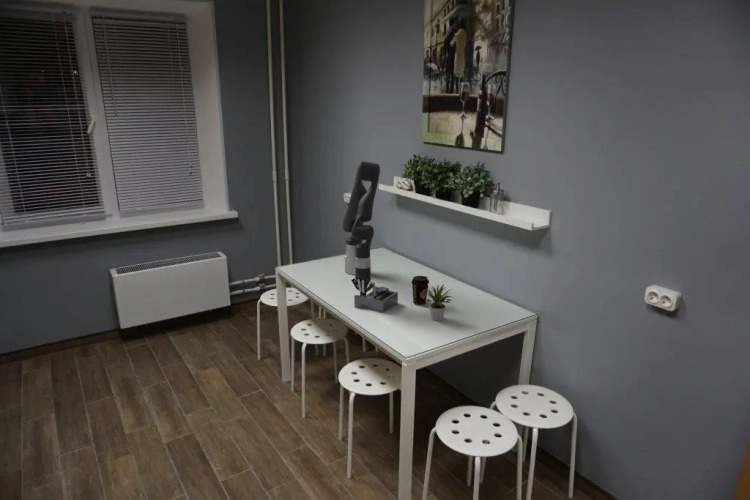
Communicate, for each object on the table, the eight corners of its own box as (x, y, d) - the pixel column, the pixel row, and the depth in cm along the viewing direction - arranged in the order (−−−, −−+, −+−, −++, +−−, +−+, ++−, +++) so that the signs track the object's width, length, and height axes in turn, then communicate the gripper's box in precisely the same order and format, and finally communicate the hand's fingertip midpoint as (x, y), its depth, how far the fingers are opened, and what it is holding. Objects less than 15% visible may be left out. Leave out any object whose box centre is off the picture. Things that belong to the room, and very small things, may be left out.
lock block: (362, 305, 241) (362, 297, 240) (372, 299, 248) (372, 291, 247) (376, 308, 237) (376, 300, 236) (386, 302, 244) (386, 294, 243)
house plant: (429, 328, 215) (430, 293, 211) (414, 316, 228) (415, 282, 223) (457, 322, 221) (459, 288, 216) (441, 311, 233) (442, 278, 228)
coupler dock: (353, 306, 238) (353, 289, 236) (373, 295, 252) (373, 279, 249) (380, 314, 230) (380, 296, 227) (399, 301, 244) (400, 285, 241)
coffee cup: (430, 301, 245) (431, 276, 241) (426, 307, 237) (427, 281, 234) (413, 298, 248) (414, 274, 244) (409, 305, 240) (409, 279, 236)
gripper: (347, 265, 240) (347, 298, 245) (369, 270, 233) (370, 304, 238) (356, 261, 246) (356, 293, 251) (378, 265, 239) (378, 299, 244)
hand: (363, 298), depth 245 cm, fingers closed
